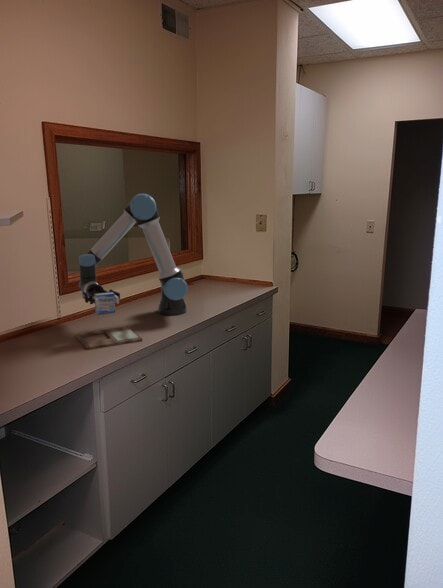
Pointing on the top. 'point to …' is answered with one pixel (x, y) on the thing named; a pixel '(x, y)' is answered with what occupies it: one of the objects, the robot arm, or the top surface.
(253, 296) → the top surface
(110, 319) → the top surface
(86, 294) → the robot arm
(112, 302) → the medicine box
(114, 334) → the pocket board
